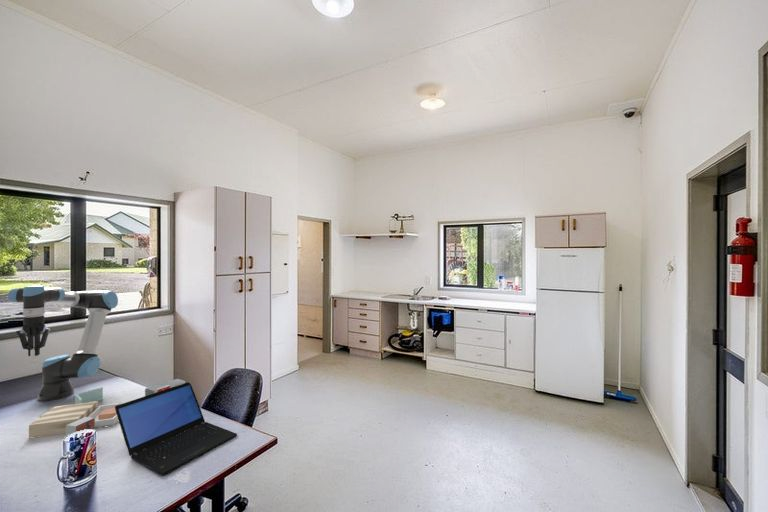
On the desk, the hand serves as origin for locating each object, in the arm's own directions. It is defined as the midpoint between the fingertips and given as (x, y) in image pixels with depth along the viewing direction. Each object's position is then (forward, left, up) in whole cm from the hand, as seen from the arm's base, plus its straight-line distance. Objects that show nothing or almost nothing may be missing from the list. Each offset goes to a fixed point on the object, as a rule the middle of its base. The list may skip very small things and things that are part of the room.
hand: (34, 362), depth 170 cm
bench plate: (+12, +18, -29) cm, 37 cm away
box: (+12, +35, -29) cm, 47 cm away
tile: (+12, +36, -26) cm, 46 cm away
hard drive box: (+29, +65, -30) cm, 77 cm away
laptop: (+50, +74, -30) cm, 94 cm away
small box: (+37, +34, -30) cm, 58 cm away
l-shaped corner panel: (-9, +20, -30) cm, 37 cm away
